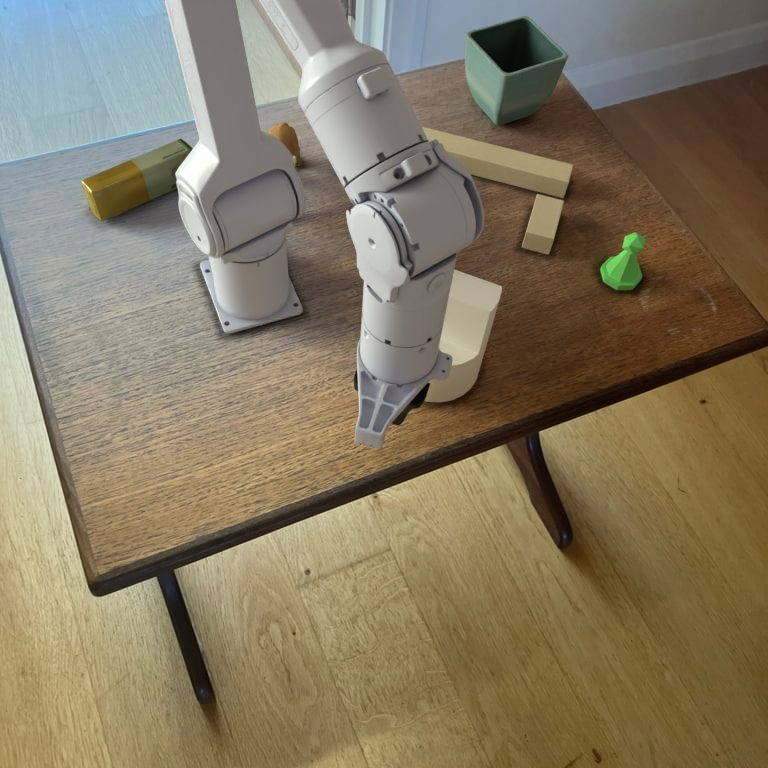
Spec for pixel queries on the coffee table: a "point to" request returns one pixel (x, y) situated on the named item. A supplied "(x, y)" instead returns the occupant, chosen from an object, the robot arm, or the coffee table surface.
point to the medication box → (135, 180)
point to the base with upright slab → (465, 334)
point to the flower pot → (512, 68)
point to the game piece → (624, 264)
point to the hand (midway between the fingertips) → (390, 415)
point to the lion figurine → (288, 140)
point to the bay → (515, 180)
